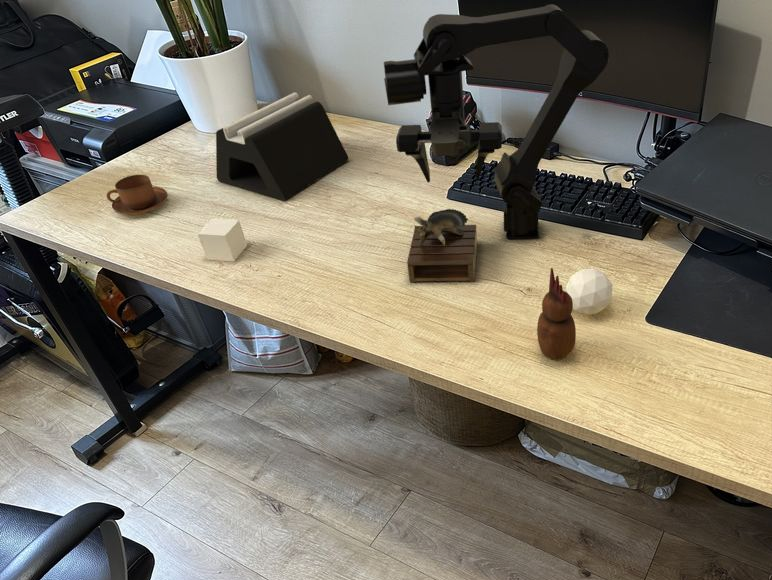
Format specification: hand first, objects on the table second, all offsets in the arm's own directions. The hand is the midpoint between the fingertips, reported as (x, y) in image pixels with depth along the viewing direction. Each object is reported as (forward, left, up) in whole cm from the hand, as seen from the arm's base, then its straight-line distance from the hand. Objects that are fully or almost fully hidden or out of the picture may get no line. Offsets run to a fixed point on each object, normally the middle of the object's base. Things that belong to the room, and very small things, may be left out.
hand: (453, 180), depth 123 cm
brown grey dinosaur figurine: (+2, +7, -9) cm, 11 cm away
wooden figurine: (-18, +34, -13) cm, 41 cm away
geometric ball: (-24, +23, -13) cm, 36 cm away
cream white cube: (+47, +3, -13) cm, 49 cm away
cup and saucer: (+74, -17, -13) cm, 77 cm away
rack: (+2, +8, -13) cm, 15 cm away
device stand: (+45, -33, -13) cm, 57 cm away
